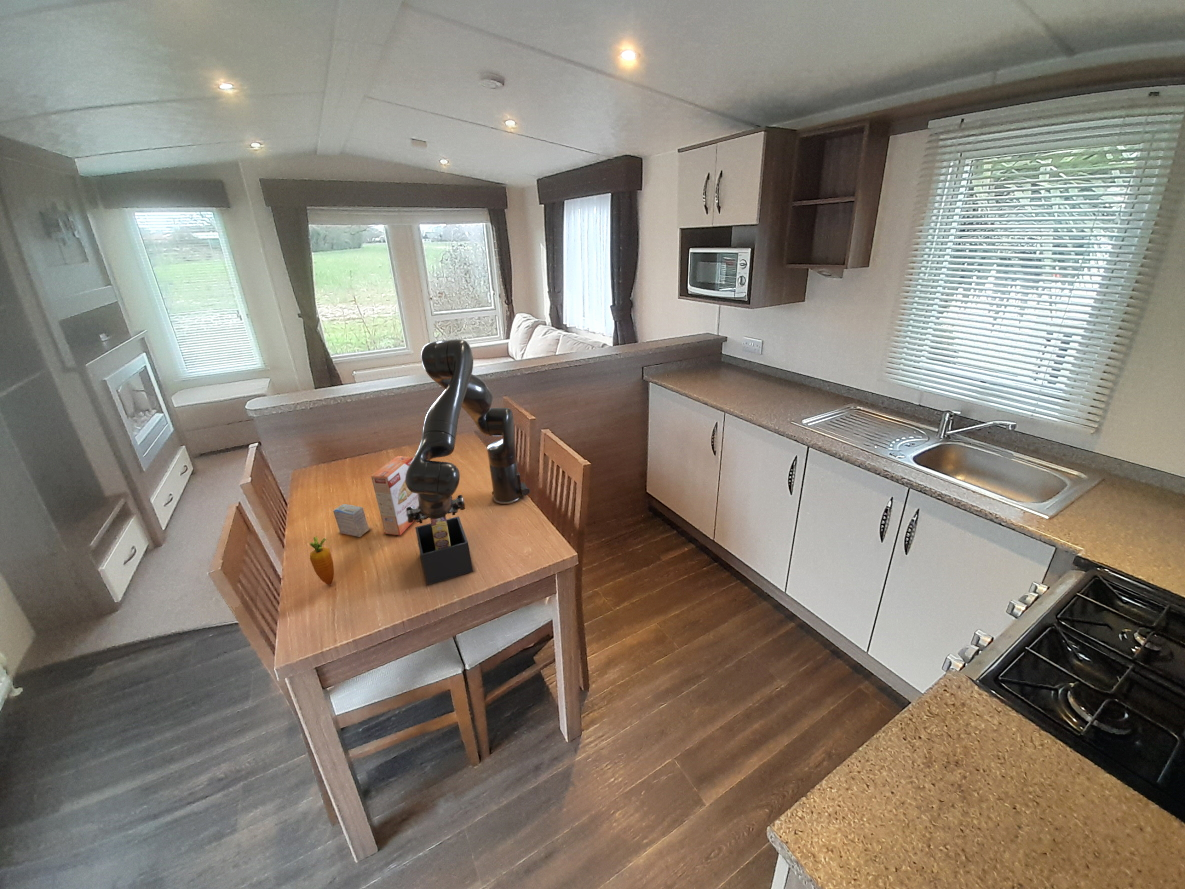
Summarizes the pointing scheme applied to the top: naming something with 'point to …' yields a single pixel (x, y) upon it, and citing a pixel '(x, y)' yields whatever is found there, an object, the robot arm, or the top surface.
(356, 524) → the medicine box
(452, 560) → the waste bin
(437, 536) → the candy box
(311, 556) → the carrot
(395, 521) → the cracker box
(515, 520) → the top surface
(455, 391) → the robot arm
